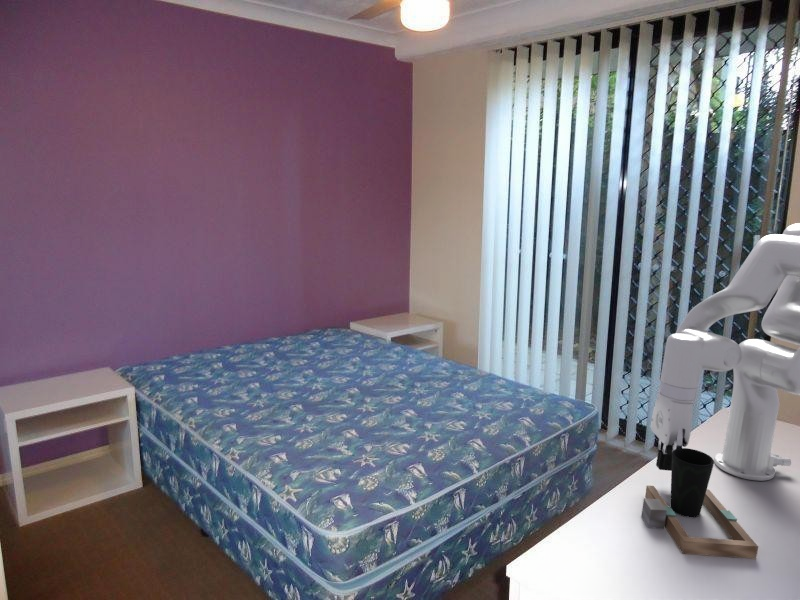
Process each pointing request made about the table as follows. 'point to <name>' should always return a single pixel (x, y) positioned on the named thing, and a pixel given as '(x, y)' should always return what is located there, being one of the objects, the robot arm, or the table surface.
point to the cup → (689, 481)
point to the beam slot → (739, 546)
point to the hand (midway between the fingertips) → (664, 468)
